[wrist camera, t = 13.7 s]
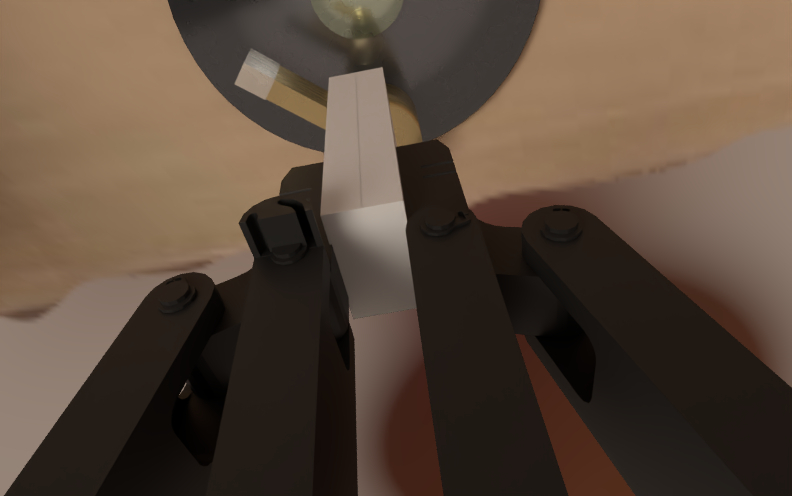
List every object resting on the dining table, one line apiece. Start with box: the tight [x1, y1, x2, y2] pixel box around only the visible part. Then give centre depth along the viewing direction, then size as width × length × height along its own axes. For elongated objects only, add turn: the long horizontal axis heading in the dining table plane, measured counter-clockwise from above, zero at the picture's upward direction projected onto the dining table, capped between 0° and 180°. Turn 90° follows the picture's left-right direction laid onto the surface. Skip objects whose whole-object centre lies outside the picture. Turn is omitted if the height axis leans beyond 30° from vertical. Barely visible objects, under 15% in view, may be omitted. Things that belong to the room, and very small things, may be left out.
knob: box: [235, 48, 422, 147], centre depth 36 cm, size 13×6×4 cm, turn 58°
